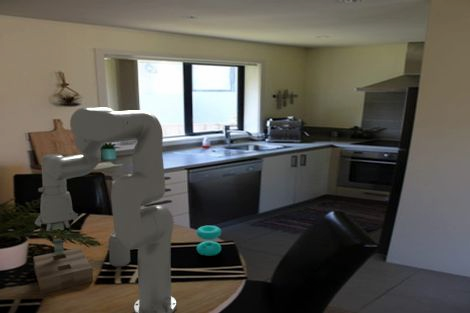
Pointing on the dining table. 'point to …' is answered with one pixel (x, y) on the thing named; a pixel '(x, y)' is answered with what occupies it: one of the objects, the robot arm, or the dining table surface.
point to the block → (62, 270)
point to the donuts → (208, 246)
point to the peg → (58, 242)
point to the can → (117, 252)
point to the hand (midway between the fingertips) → (58, 238)
